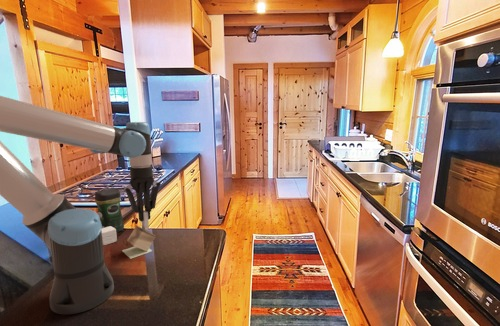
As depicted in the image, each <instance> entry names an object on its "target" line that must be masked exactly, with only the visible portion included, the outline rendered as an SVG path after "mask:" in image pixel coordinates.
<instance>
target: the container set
mask: <svg viewBox="0 0 500 326" xmlns="http://www.w3.org/2000/svg"><path fill="white" fill-rule="evenodd" d="M101 230H102V241H103V246H107V245H109V244H112V243H115V242H117V241H118V237H117V235H118V234H117V232H116V229H115V228H113V227H112V226H109V227H105V228H102V229H101Z"/></svg>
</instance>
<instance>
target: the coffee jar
mask: <svg viewBox="0 0 500 326" xmlns="http://www.w3.org/2000/svg"><path fill="white" fill-rule="evenodd" d="M121 199H122V195H121V191H120V189H118V188H116V187H111V188H106V189H102V190H97V191H95V193H94V203H95V204H96V206H97V214H98V215H99V217H100V221H101V224H102V228H105V227H109V226H112V227H113V228H115V229H116V233H118V232H121V231H123V230H124V229H125V224H124V219H123V215H122V210H121Z"/></svg>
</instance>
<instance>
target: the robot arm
mask: <svg viewBox="0 0 500 326" xmlns="http://www.w3.org/2000/svg"><path fill="white" fill-rule="evenodd" d="M125 125H126V126H125V127H123V128H121V127H115V126H113V125H109V124H105V123H102V122H98V121H95V120H91V119H88V118H87V119H86V118H83V117H79V116H76V115H73V114H69V113H65V112H62V111H59V110H54V109H50V108H47V107H44V106H43V107H42V106H39V105H35V104H32V103H28V102H24V101H20V100H18V99H13V98H11V97H10V98H9V97H6V96H3V95H0V132H2V133H6V134H13V135H17V136H23V137H27V138H31V139H37V140H41V141H46V142H47V141H48V142H52V143H57V144H63V145H67V146H71V147H72V146H74V147H78V148H83V149H88V150H90V152H91V153H93V154H95V155H97V154H112V155H116V156H117V155H118V156H120V157H121V156H123V157H125V158H128V162H129V166H130V167H129V176H130V181H129V184H128V185H126V186H124V187H123V189H122V190H123V191H124V192H125V193H126V195H127V198H128V201H129V205H130V207H131V209H132V211H133V212H134V213H137V214H138V215H137V216H138V220H139V221H140V222H141V228H143V229H144V230H147V231H148V230H149V229H150V226H149V220H151V212H152V210H154V209H155V207H156V204H157V199H158V198H157V197H158V193H159V192H158V191H159V188H160V186H161V182H160V181H155V179H154V177H153V176H154V173H153V172H154V171H153V166H152V165H153V158H152V155H153V154H152V143H151V142H152V141H151V135H152V134H151V128H150V124H149V123H148V122H143V121H134V122H133V121H132V122H130V121H129V122H127V123H126V124H125ZM133 190H134V191H135V194H136V200H135V196H134V194H133V192H132V191H133ZM0 196H1V197H2V199H4V200H5V201H6V202H7V203H8V204H10V205H11V206H12V207H13V208H14V209H16V210H17V211H18V212H19V213H20V214H21V215H23V217H22V224H23V225H24V226H25V227H26V228H27V229H29V230H30V231H31V232H32V233H33V234H34V235H36V236H37V237H38V238H39V239H40V240H41V241H42V242H43V243H44V245H46V247H47V248H48V249H49V250H50V253H51V260H52V265H53V266H52V267H53V273H54V277H53V281H52V284H51V285H52V286H51V289H50V294H49V298H48V301H49V307H50V310H51V311H52V312H53V313H55V314H59V315H75V314H79V313H83V312H87V311H89V310H91V309H94V308H96V307H98V306H100V305H101V304H103V303H104V302H106V301H107V300H108V298H110V297H111V296H112V295H113V293H114V290H115V285H114V284H115V283H114V279H113V276H112V275H111V273H110V271H109V269H108V267H107V265H106V263H105V254H104V245H103V241H102V230H101V229H102V224H101V221H100V217H99V215H98V212H96V211H95V210H93V209H89V208H82V207H81V208H77V207H75V206H74V205H73V204H72V203H71V202H70V201H69V199H68V198H67V197H65V195H63V194H59V193H58V194H57V193H54V192H52V191H51V190H50V189H49V188H48V187H47V186H46V185H45V184H44V183H43V182H42V181H41V180H40V179H39V178H38V177H37V176H36V175H35V174H34V173H33V172H32V171H31V170H30V169H29V168H28V167H27V166H26V165H25V164H24V163H23V162H22V161H21V160H20V159H19V158H18V157H17V156H16V155H15V154H14V153H13V152H12V151H11V150H10V149H9V148H8V147H7V146H6V145H5V144H4V143H3V142H2V141H1V140H0Z"/></svg>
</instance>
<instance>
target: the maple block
mask: <svg viewBox="0 0 500 326" xmlns="http://www.w3.org/2000/svg"><path fill="white" fill-rule="evenodd" d="M156 237H157V235H156V234H153V233H152V232H151V231H149V230H148V229H147V230H144V229H143V228H142V226H141V227H140V226H138V225H135V227H134V228H133V230H132V232H131V233H130V235H129V236H128V238H127V240H126V241H127V242H129V243H130V245H132V247H137V248H140V249H142V250H145V251H148V249H149V248H150V247H151V246H152V244H153V242H154V241H155V239H156Z"/></svg>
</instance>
